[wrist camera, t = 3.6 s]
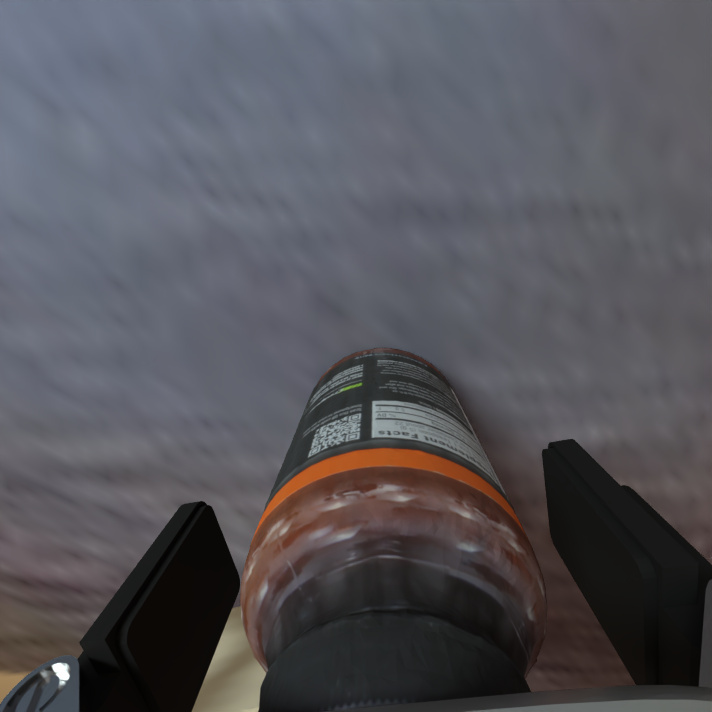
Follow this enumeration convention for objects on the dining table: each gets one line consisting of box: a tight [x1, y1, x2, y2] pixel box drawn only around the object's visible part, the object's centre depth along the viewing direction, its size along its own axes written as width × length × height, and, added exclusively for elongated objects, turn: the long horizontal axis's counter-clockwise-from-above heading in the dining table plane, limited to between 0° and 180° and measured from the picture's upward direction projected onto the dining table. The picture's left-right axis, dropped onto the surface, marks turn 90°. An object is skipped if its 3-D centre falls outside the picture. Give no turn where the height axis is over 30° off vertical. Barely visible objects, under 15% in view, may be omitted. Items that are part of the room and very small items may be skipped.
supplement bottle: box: [240, 348, 547, 712], centre depth 10 cm, size 6×6×11 cm
